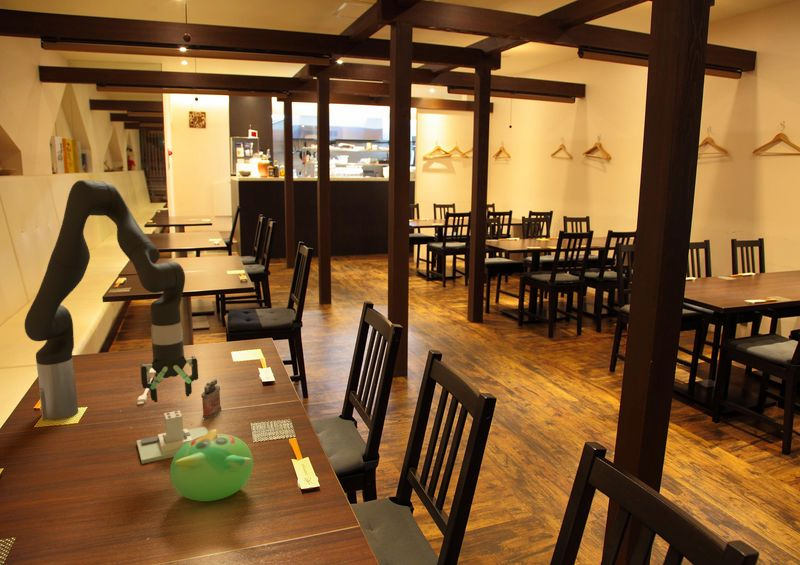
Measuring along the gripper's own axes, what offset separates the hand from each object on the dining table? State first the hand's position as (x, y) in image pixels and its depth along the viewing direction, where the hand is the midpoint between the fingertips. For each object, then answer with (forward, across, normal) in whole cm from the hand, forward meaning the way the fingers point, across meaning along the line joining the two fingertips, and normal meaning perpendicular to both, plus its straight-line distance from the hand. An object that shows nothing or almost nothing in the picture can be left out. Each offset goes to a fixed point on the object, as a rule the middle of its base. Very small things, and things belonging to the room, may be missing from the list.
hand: (171, 398), depth 154 cm
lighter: (+14, -13, -16) cm, 25 cm away
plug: (+13, 0, 0) cm, 13 cm away
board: (+14, 0, 0) cm, 14 cm away
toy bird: (+14, -4, +29) cm, 32 cm away
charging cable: (+14, 0, -49) cm, 51 cm away
